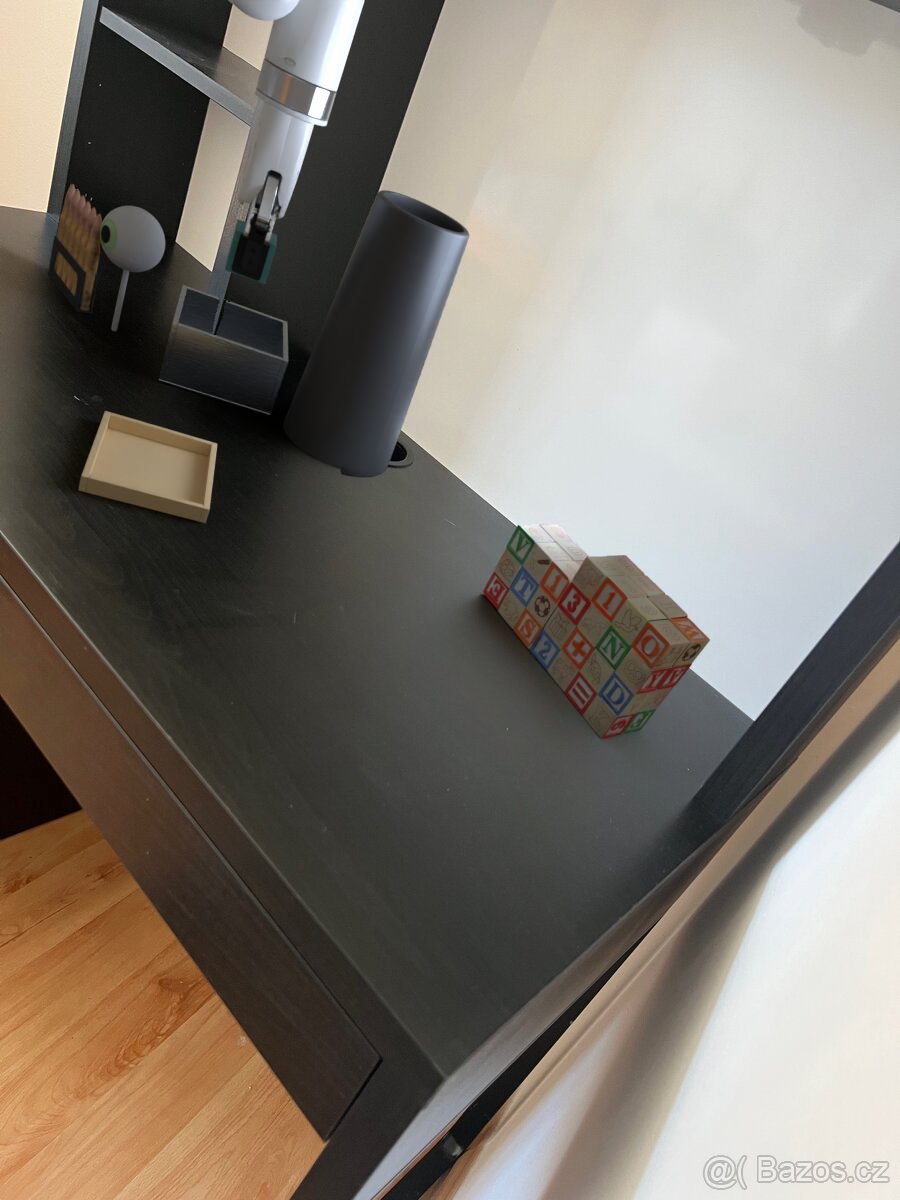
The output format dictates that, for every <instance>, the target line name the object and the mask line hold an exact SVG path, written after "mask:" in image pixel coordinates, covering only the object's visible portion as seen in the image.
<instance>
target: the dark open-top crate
mask: <svg viewBox="0 0 900 1200" xmlns="http://www.w3.org/2000/svg"><path fill="white" fill-rule="evenodd" d="M219 298H220V297H219ZM219 298H218V296H216V295H214V294H210V293H207V292H206V291H202V290H199V289H196V288H193V287H192V286H191V287H190V286H187V285H186V284H182V287H181V290H180V294H179V297H178V301H177V304H176V307H175V312H174V315H173V318H172V322H171V326H170V332H169V335H168V340H167V342H166V346H165V351H164V354H163V355H164V356H163V359H162V364H161V367H160V371H159V374H158V375H159V376H158V380H157V383H159V384H162V385H165V386H168V387H172V388H174V389H178V390H181V391H183V392H187V393H190V394H193V395H197V396H200V397H204V398H207V399H210V400H213V401H217V402H220V403H223V404H226V405H229V406H233V407H236V408H237V409H238V408H239V409H242V410H245V411H249V412H252V413H254V414H258V415H261V416H264V417H268V418H271V415H272V412H273V410H274V406H275V403H276V401H277V397H278V394H279V391H280V388H281V385H282V382H283V379H284V376H285V373H286V371H287V367H288V365H289V337H288V321H287V320H283V319H280V318H278V317H274V316H272V315H270V314H266V313H264V312H260V311H258V310H255V309H253V308H249V307H248V306H244V305H241V304H238V303H235V302H233V301H230V302H228V301H229V300H227V301H226V303H225V306H224V313H223V314H224V315H223V317H222V318H223V319H222V320H221V322H220V325H219V327H218V330H217V332H216V333H217V334H216V335H214V334H213V333H212V332H213V325H214V324H213V323H214V321H215V320H214V319H215V316H216V315H215V314H216V312H217V308H218V304H219V303H220V302H219V301H220V299H219Z"/></svg>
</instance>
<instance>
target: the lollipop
mask: <svg viewBox="0 0 900 1200" xmlns="http://www.w3.org/2000/svg"><path fill="white" fill-rule="evenodd" d="M165 237H166V236H165V233H164V230H163V228H162V226H161V224H160V222H159V221H158V220H157V218H156V217H155V216H153V214H152V213H150V212H149V211H147V210H146V209H144V208H141V207H139V206H135V205H122V206H119V207H116V208H113V209H112V210H110V211H109V212H108V213H107V214H106V216H105V217H104V219H102V225H101V229H100V240H101V243H100V245H101V247H102V249H103V252H104V253H105V255H106V256H107V258H108V259H109V260H110V261H111V262H112V264H114V265H115V266H117V267H118V268H120V269H122V274H121V280H120V285H119V290H118V294H117V299H116V304H115V309H114V312H113V318H112V323H111V327H110V330H111V331H113V332H117V331H118V328H119V323H120V317H121V313H122V309H123V304H124V299H125V295H126V289H127V285H128V280H129V275H130V272H131V273H143V272H146V271H149V270H151V269H153V268H154V267H156V266H157V265H158V264H159V263H160V262H161V260H162V259H163V256H164V253H165V250H166V238H165Z"/></svg>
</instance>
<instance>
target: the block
mask: <svg viewBox="0 0 900 1200" xmlns="http://www.w3.org/2000/svg"><path fill="white" fill-rule="evenodd" d="M243 221H244V220H241V219H237V220H236V222H235V227H234V231H233V235H232V237H231V241H230V245H229V249H228V253H227V256H226V261H225V266H224V271H226V272H229V273H231V274H234V275H237V276H239V277H242V278H245V279H248V280H250V281H254V282H255V283H259V284H261V285H264V286H265V285H266V284H267V280H268V277H269V274H270V270H271V267H272V263H273V261H274V260H273V259H274V257H275V254H276V250H277V246H278V245H277V244H278V234H276V233H274V232H272V234H271V238H270V241H269V245H270V248H269V252H268V255H267V258H266V262H265V265H264V269H263V272H262V275H261V279H260V280H258V281H257V280H254V279H251V278H248V277H246V276H243V275H240V274H238V273H235V272H233V271H232V264H233V260H234V256H235V253H236V249H237V246H238V242H239V238H240V235H241V234H243V233H244V230H245V226H246V222H247V221H245V222H243ZM250 229H251V228H250Z"/></svg>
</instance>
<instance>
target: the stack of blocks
mask: <svg viewBox="0 0 900 1200" xmlns="http://www.w3.org/2000/svg"><path fill="white" fill-rule="evenodd" d="M482 594H483V595H484V596H485V597H486V598H487V599H488V600H489V602H490V603H491V604H492V605H493V606H494V607H495V609H496V610H497V612H498V613H499V615H500V616H501V617H502V618H503V620H504V621H505V623H506V624H507V625H508V626H509V627H510V628H511V629H512V630H513V632H514V633H515V634H516V636H517V637H518V638H519V640H521V643H523V644H524V646H525V647H526V648H527V650H529V651H530V652H531V654H533V656H534V658H536V659H537V661H538V662H539V664H541V666H542V667H543V668H544V669H545V670H546V671H547V673H548V674H549V675H550V676H551V678H552V679H553V680H554V682H555V683H556V684H557V685H558V686H559V688H560V689H561V691H563V692H564V694H565V696H566V697H567V698H568V699H569V701H570V702H571V704H572V705H573V706H574V707H575V709H576V710H577V711H578V712H579V714H581V715H582V717H583V718H584V720H585V721H586V722H587V723H588V725H589V726H590V727H591V728H592V730H593V731H594V732H595V733H596V735H597V736H598V737H599V738H600V739H602V740H603V739H609V738H613V737H617V736H620V735H622V734H628V733H632V732H637V731H641V730H643V728H644V727H645V725H646V724H647V723H648V721H649V720H650V719H651V717H652V716H653V715H654V714H655V712H656V711H657V709H658V708H659V707H660V705H661V704H662V703H663V702H664V700H665V699H666V698H667V696H668V695H669V694H670V693H671V691H673V689H674V687H676V686H677V684H678V683H679V682H680V681H681V680H682V678H683V677H684V675H686V673H687V671H688V670H689V669H690V668H691V667H692V665H693V663H694V661H696V659H697V658H698V656H700V654H701V653H702V652H703V650H705V648H706V647H707V645H708V644H709V643H710V641H711V639H710V638H709V637H708V636H707V634H705V633H704V632H703V630H701V629H700V628H699V627H698V625H696V624H695V622H694V621H692V620H691V618H689V616H688V613H687V612H686V611H685V610H684V609H683V608H682V607H681V606H680V605H679V604H678V603H677V602H676V601H675V600H674V599H673V598H672V597H670V595H668V594H666V593H665V591H664V590H663V589H662V588H660V587H659V586H658V585H657V584H656V582H654V581H653V579H651V578H650V577H649V576H648V575H646V574H645V572H644V571H643V570H642V569H640V567H638V565H636V563H634V562H633V560H632V559H631V558H630V557H628V556H627V555H626V554H616V555H615V554H613V555H603V556H599V555H598V556H597V555H594V556H590V555H589V554H588V553H587V552H586V551H584V549H583V548H582V547H581V546H580V545H579V544H578V543H577V542H576V541H575V540H574V539H573V538H572V537H571V536H570V535H569V534H568V533H567V532H566V531H565V530H564V529H563V528H562V527H561V526H560V525H559V524H545V523H543V524H542V523H539V524H523V523H522V524H521V523H518V524H517V526H516V528H515V529H514V531H513V533H512V535H511V537H510V539H509V541H508V543H507V544H506V546H505V550H504V551H503V553H502V554H501V557H500V559H499V560H498V562H497V564H496V566H495V568H494V570H493V572H492V574H491V575H490V577H489V578H488V581H487V583H486V584H485V586H484V588H483V590H482Z"/></svg>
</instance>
